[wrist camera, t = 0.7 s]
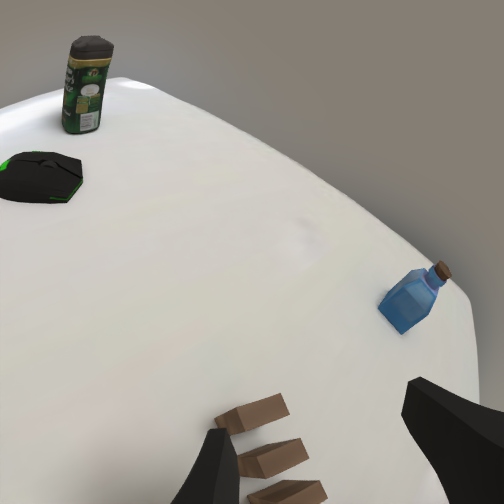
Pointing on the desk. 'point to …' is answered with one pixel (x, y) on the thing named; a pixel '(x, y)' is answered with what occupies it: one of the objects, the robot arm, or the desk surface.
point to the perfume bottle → (413, 296)
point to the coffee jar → (85, 83)
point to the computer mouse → (40, 177)
